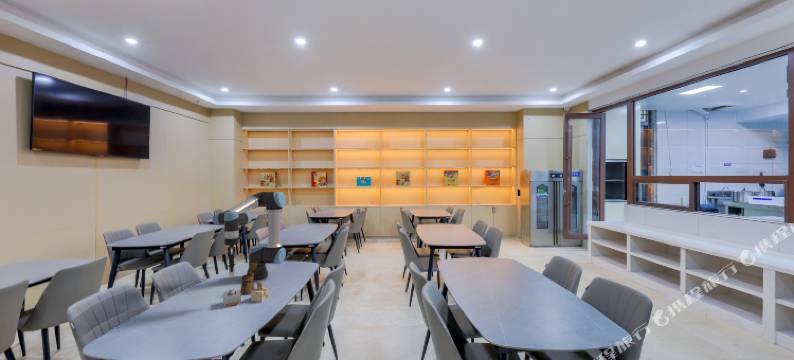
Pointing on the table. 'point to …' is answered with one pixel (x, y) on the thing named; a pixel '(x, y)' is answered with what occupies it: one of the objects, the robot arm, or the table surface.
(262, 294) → the stand
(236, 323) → the table surface
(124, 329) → the table surface
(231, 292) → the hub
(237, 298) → the square metal nut
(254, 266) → the wooden mug
